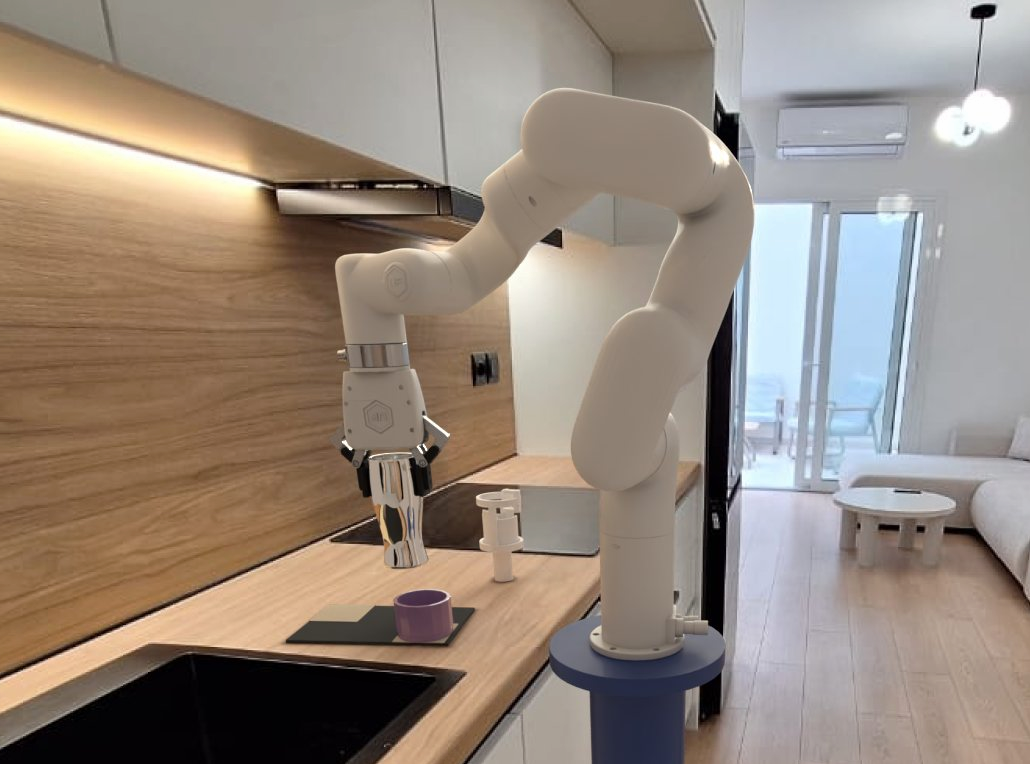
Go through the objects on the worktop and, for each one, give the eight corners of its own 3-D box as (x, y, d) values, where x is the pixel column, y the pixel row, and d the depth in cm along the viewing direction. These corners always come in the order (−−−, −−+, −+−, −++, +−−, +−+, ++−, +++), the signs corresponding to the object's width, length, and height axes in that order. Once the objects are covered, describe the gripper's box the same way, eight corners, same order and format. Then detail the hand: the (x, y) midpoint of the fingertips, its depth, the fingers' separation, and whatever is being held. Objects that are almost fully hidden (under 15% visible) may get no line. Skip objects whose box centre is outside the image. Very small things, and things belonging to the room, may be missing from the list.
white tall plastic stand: (517, 586, 130) (512, 494, 125) (476, 584, 131) (468, 492, 126) (530, 573, 137) (525, 485, 131) (490, 571, 138) (484, 484, 132)
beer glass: (426, 554, 118) (413, 450, 113) (436, 565, 112) (422, 457, 107) (377, 560, 116) (361, 455, 110) (384, 573, 110) (368, 462, 104)
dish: (459, 623, 114) (456, 589, 112) (444, 643, 107) (441, 607, 105) (408, 622, 114) (404, 588, 112) (389, 642, 107) (385, 606, 105)
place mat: (474, 609, 120) (474, 606, 120) (448, 646, 107) (447, 642, 107) (330, 607, 121) (329, 604, 121) (285, 642, 108) (285, 639, 108)
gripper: (300, 362, 101) (323, 502, 108) (436, 358, 100) (451, 500, 107) (325, 359, 108) (346, 490, 115) (453, 356, 107) (466, 489, 114)
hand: (397, 494), depth 111 cm, fingers closed on beer glass, 7 cm apart
